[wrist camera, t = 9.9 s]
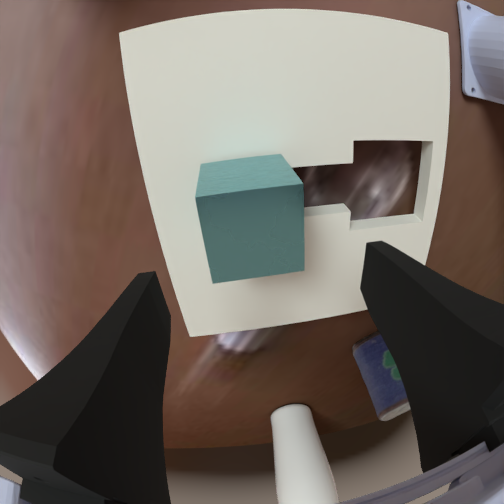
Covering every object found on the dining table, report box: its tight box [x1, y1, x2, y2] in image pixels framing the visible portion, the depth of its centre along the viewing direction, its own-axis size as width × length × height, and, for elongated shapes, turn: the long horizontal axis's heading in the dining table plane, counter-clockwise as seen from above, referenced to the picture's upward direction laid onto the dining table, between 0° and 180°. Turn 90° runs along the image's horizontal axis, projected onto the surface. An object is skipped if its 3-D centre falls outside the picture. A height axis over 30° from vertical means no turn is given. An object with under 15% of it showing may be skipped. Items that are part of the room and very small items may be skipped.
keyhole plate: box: [119, 9, 450, 337], centre depth 18 cm, size 18×20×3 cm
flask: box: [352, 331, 410, 421], centre depth 25 cm, size 9×3×11 cm, turn 110°
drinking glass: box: [271, 404, 339, 504], centre depth 30 cm, size 7×7×15 cm
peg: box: [195, 154, 305, 284], centre depth 15 cm, size 4×4×8 cm
